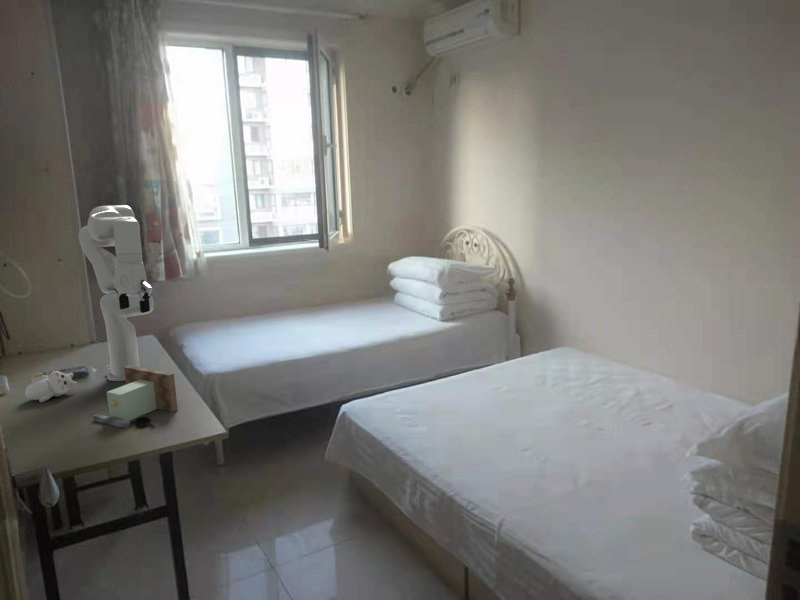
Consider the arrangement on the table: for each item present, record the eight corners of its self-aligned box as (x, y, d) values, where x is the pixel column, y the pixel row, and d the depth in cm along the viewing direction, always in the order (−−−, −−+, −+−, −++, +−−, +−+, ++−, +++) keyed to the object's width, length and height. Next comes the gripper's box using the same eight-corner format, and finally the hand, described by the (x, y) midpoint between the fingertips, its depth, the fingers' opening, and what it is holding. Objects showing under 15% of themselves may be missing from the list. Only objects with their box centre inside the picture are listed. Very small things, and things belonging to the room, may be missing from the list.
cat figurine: (19, 376, 188) (70, 361, 197) (19, 383, 194) (69, 368, 203) (30, 403, 186) (80, 387, 196) (29, 409, 193) (78, 393, 202)
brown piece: (87, 418, 177) (82, 381, 174) (133, 400, 191) (129, 365, 189) (133, 430, 168) (128, 390, 165) (177, 409, 182) (173, 373, 180)
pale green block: (107, 421, 175) (103, 393, 173) (143, 406, 186) (140, 379, 184) (121, 424, 172) (117, 396, 170) (156, 409, 184) (153, 382, 182)
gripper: (100, 257, 186) (107, 309, 190) (138, 262, 179) (143, 316, 183) (121, 254, 193) (126, 304, 197) (158, 258, 185) (163, 310, 189)
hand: (135, 310), depth 190 cm, fingers open, 9 cm apart
